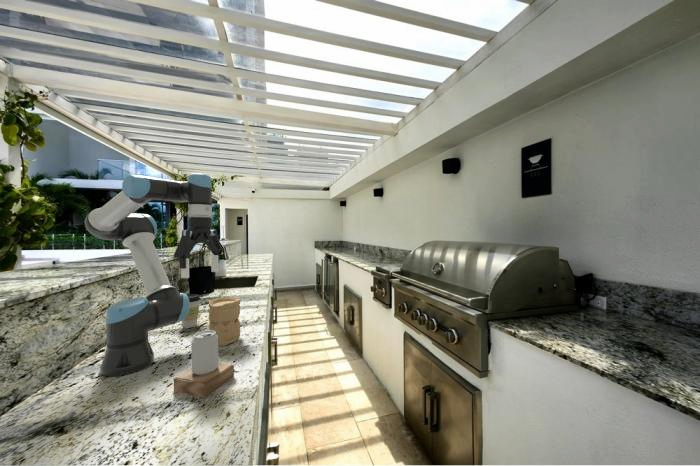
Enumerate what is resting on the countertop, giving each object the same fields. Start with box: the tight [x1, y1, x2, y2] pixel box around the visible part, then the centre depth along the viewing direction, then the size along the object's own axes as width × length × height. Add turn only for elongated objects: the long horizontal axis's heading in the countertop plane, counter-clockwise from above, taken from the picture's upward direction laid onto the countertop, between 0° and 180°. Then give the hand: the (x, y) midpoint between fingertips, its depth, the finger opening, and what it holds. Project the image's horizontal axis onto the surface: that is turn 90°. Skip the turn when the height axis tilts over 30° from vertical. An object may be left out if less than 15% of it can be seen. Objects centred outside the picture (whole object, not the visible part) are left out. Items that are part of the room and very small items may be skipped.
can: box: [190, 329, 219, 375], centre depth 87 cm, size 8×8×12 cm
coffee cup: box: [181, 294, 201, 329], centre depth 140 cm, size 10×10×15 cm
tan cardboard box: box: [173, 361, 235, 399], centre depth 87 cm, size 12×12×4 cm
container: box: [208, 296, 241, 348], centre depth 121 cm, size 13×13×18 cm
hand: (201, 274), depth 100 cm, fingers open, 13 cm apart
